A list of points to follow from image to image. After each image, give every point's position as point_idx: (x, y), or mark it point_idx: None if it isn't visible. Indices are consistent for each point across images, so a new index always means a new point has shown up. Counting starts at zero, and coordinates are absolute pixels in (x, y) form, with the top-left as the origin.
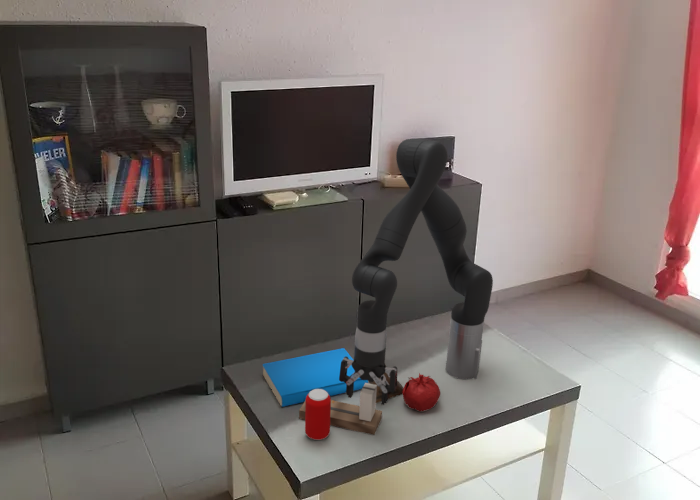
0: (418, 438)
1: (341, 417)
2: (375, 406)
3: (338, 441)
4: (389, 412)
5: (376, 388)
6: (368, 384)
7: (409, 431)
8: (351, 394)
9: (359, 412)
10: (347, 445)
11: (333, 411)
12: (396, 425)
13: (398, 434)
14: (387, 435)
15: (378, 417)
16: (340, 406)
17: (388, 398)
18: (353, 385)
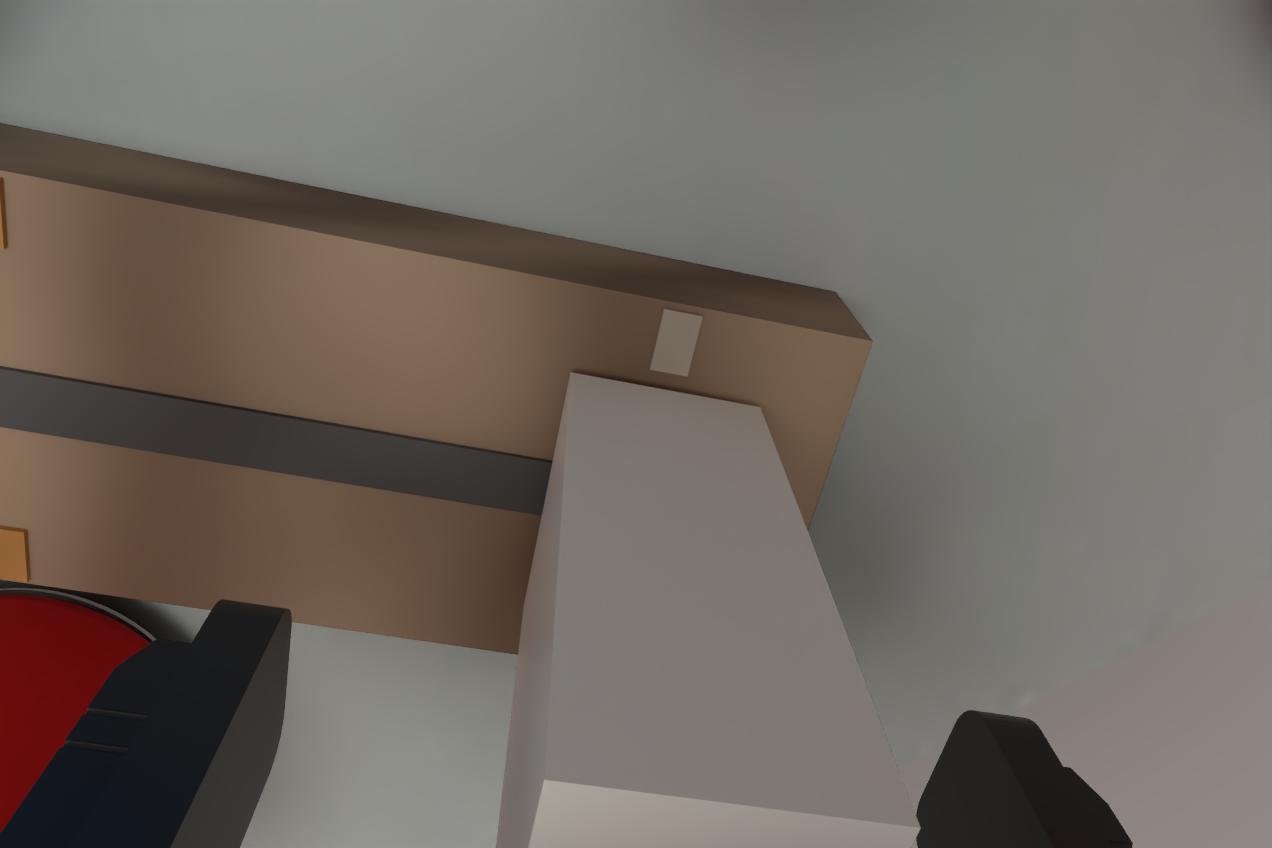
0: (1244, 585)
1: (260, 581)
2: (776, 461)
3: (343, 743)
4: (965, 109)
5: (881, 758)
6: (655, 840)
7: (1170, 485)
8: (259, 770)
9: (515, 686)
10: (452, 780)
11: (92, 467)
12: (1025, 396)
13: (1022, 553)
14: (888, 587)
15: (805, 503)
16: (159, 324)
17: (1111, 812)
18: (200, 803)
